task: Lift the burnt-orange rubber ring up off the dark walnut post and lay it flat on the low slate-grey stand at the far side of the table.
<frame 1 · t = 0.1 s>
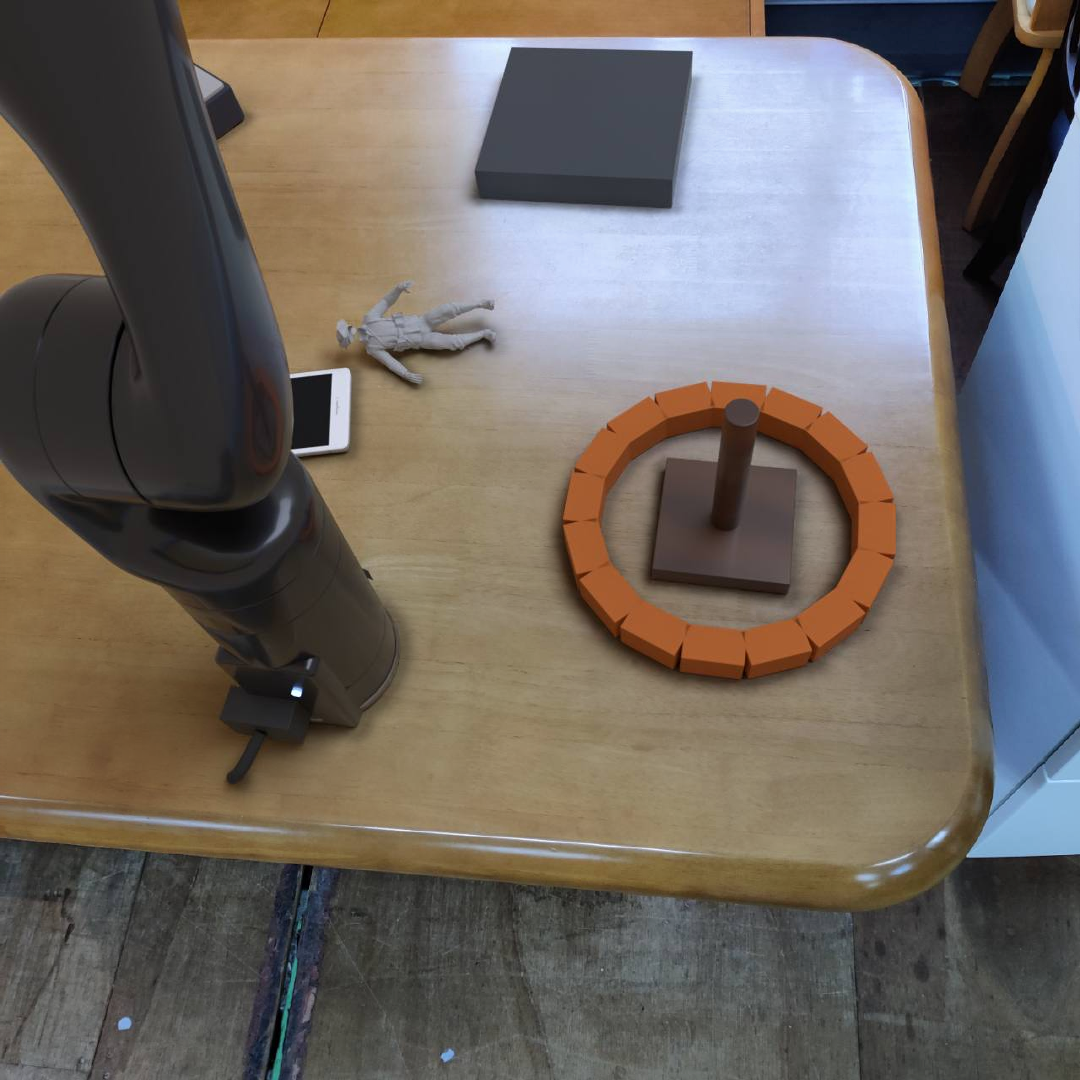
grey and red box: (154, 140, 93), on the table
post: (724, 529, 66), on the table
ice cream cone: (178, 274, 83), on the table
stand: (588, 137, 87), on the table
soldier figure: (424, 347, 77), on the table
cell phone: (250, 424, 74), on the table
ring: (724, 529, 66), on the table
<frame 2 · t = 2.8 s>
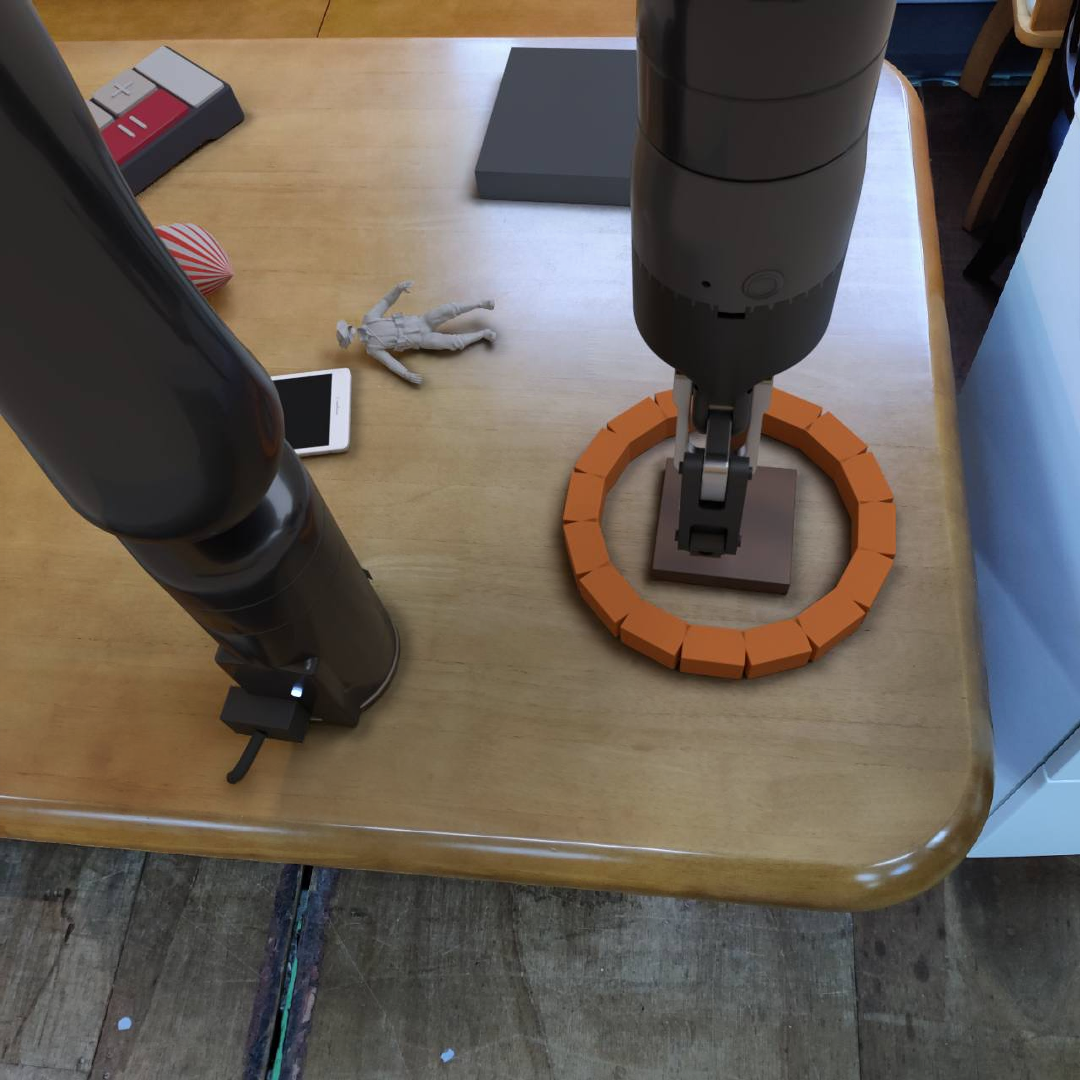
hand: (712, 471, 47), 18 cm above the table, tool pointing down, fingers open, 8 cm apart
nothing on the table moved.
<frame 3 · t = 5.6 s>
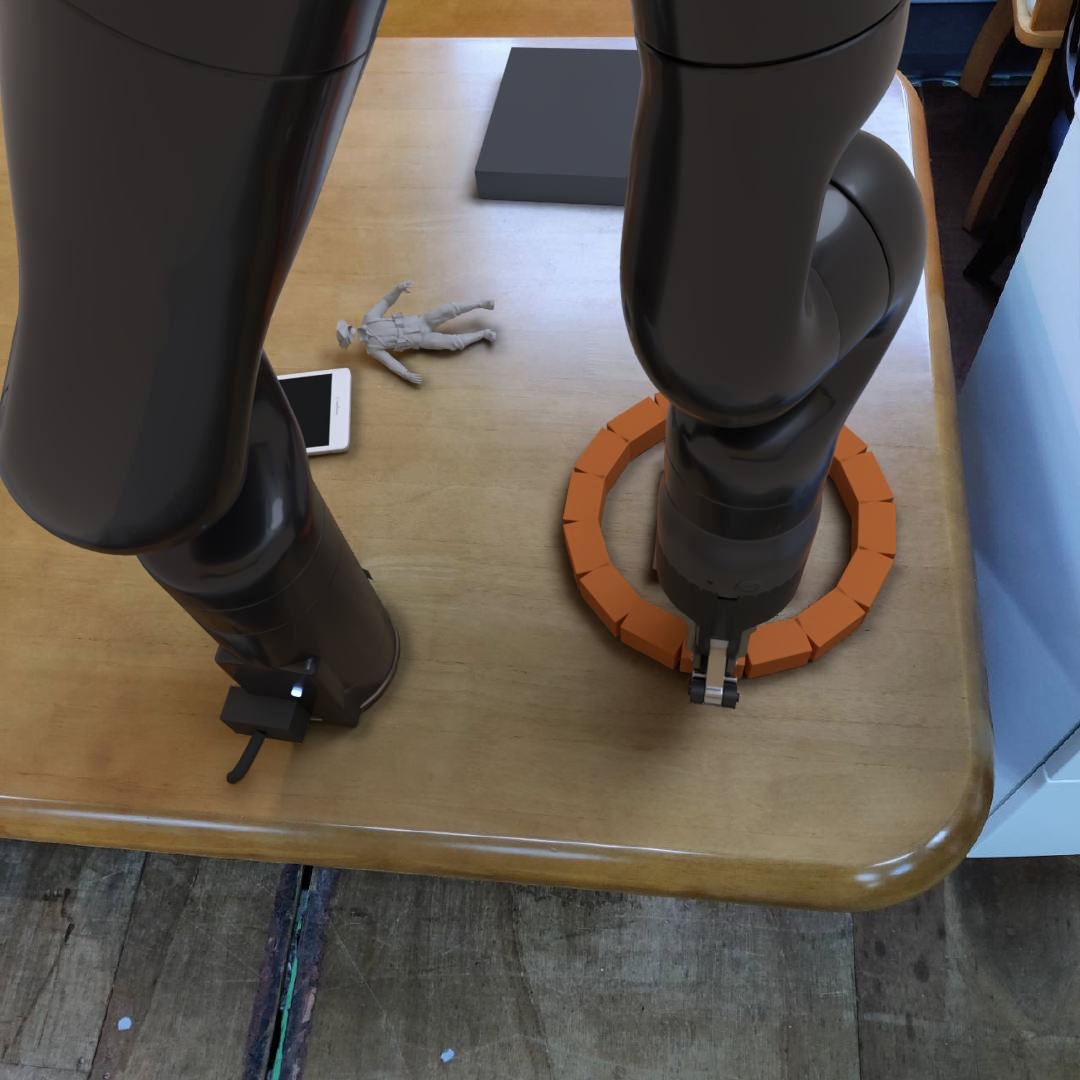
hand: (712, 657, 61), 0 cm above the table, tool pointing down, fingers closed on ring, 2 cm apart
ring: (724, 528, 66), on the table, touching gripper
everything else where it was.
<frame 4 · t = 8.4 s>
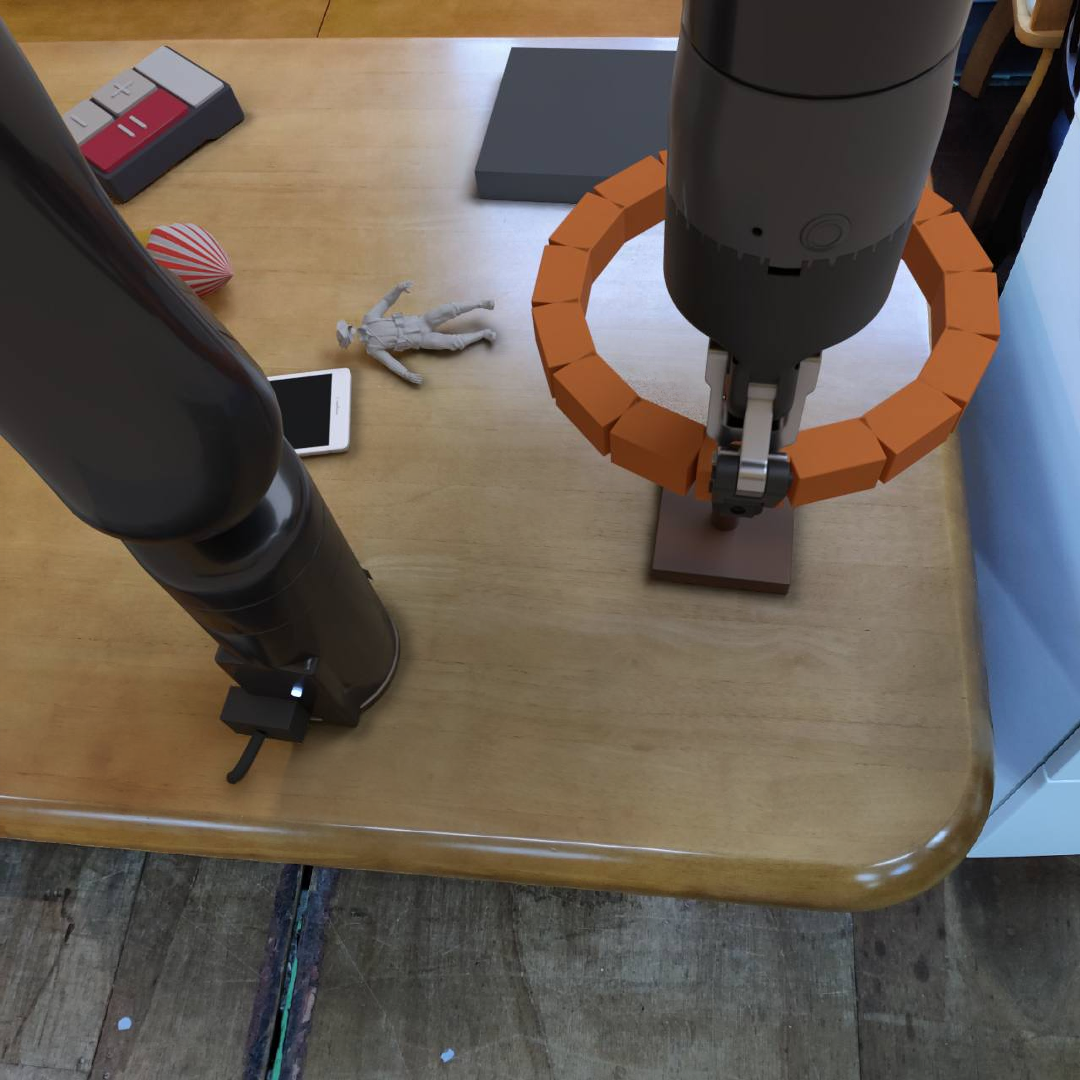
hand: (739, 478, 43), 21 cm above the table, tool pointing down, fingers closed on ring, 2 cm apart
ring: (754, 321, 48), point 21 cm above the table, touching gripper
everything else where it was.
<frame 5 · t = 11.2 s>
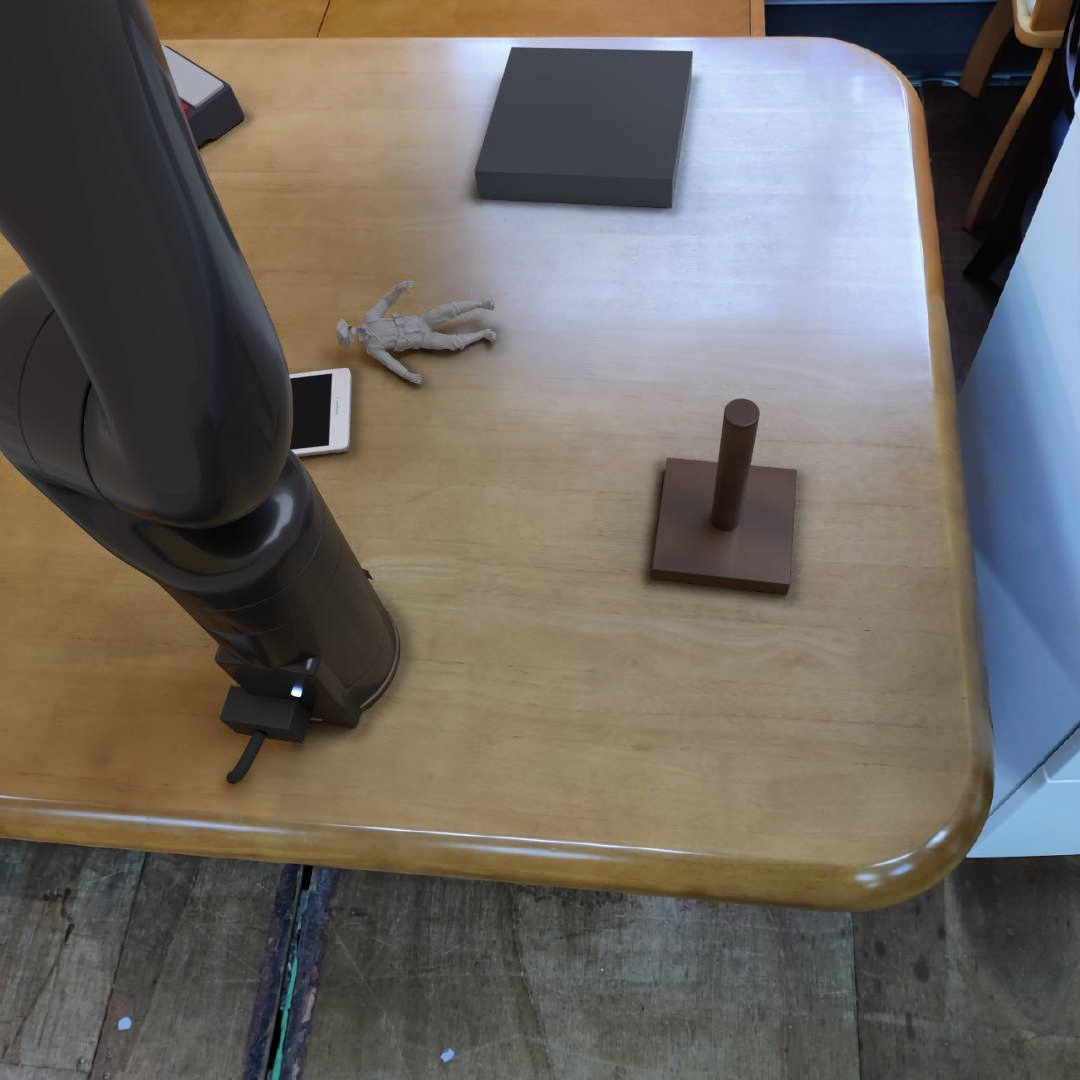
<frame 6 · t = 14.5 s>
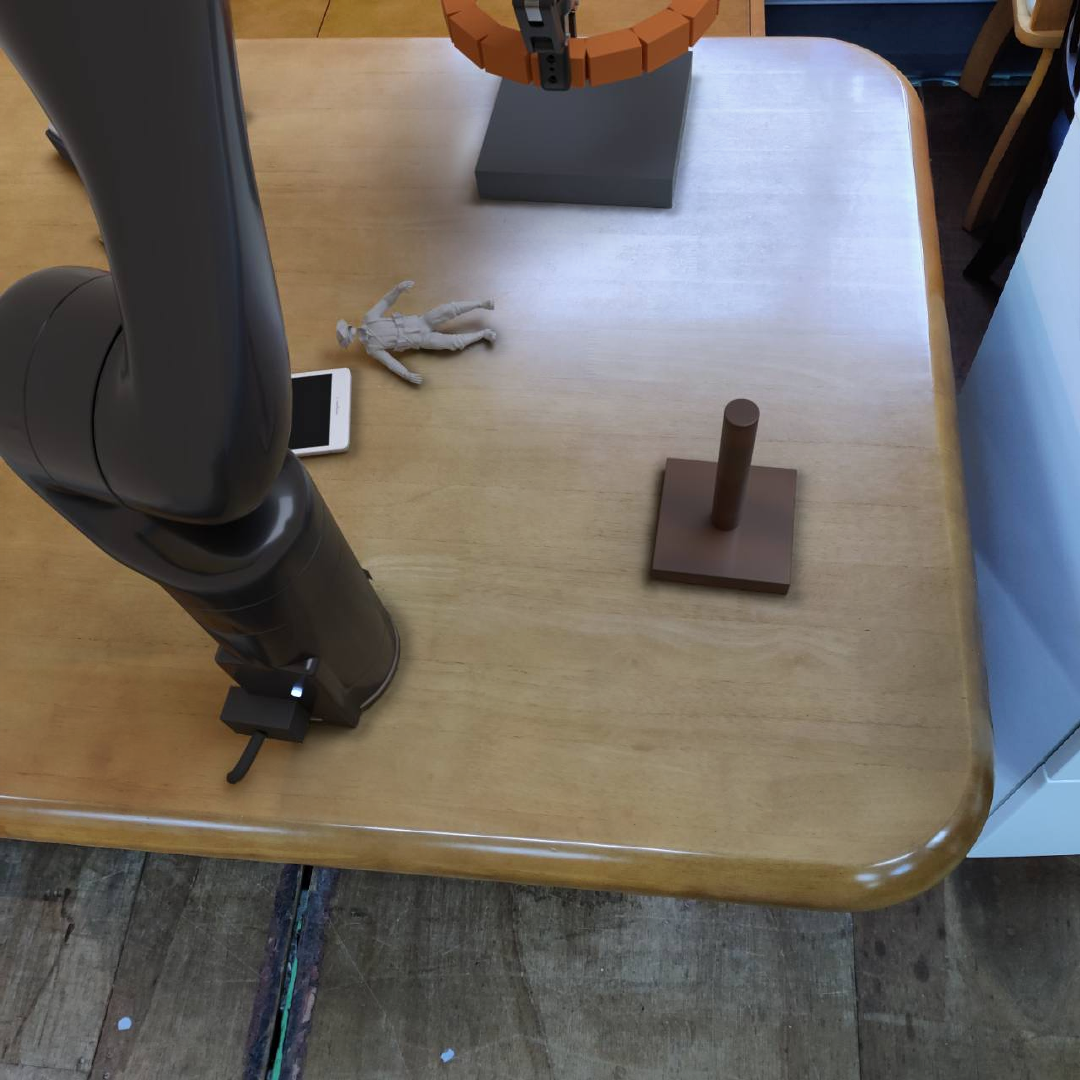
hand: (559, 74, 71), 13 cm above the table, tool pointing down, fingers closed on ring, 2 cm apart
when the fingers open (3 cm above the table, at t = 17.0 s): ring stays where it is, resting on stand.
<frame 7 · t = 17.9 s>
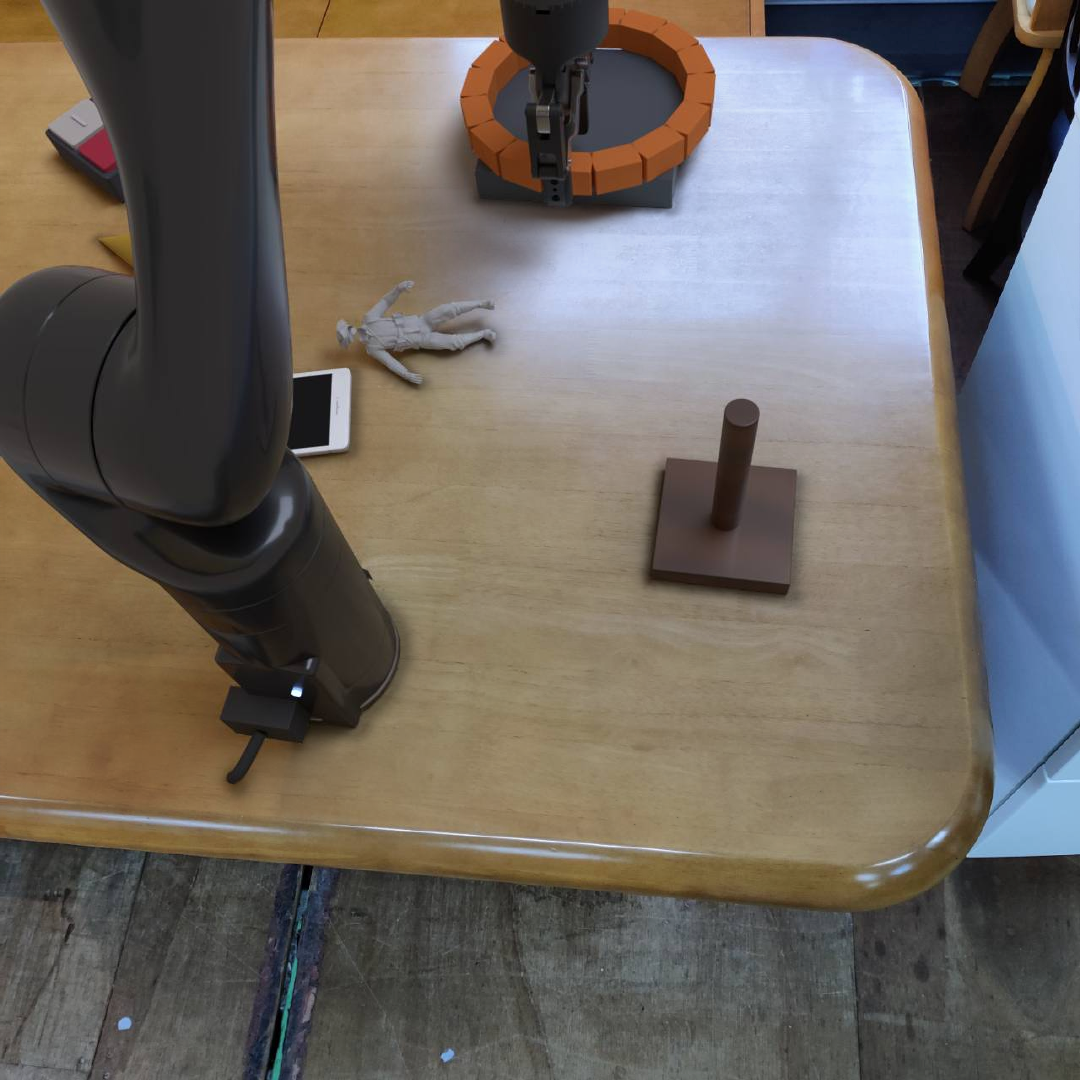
hand: (567, 167, 78), 5 cm above the table, tool pointing down, fingers open, 8 cm apart
ring: (587, 108, 84), point 3 cm above the table, touching stand
everything else where it was.
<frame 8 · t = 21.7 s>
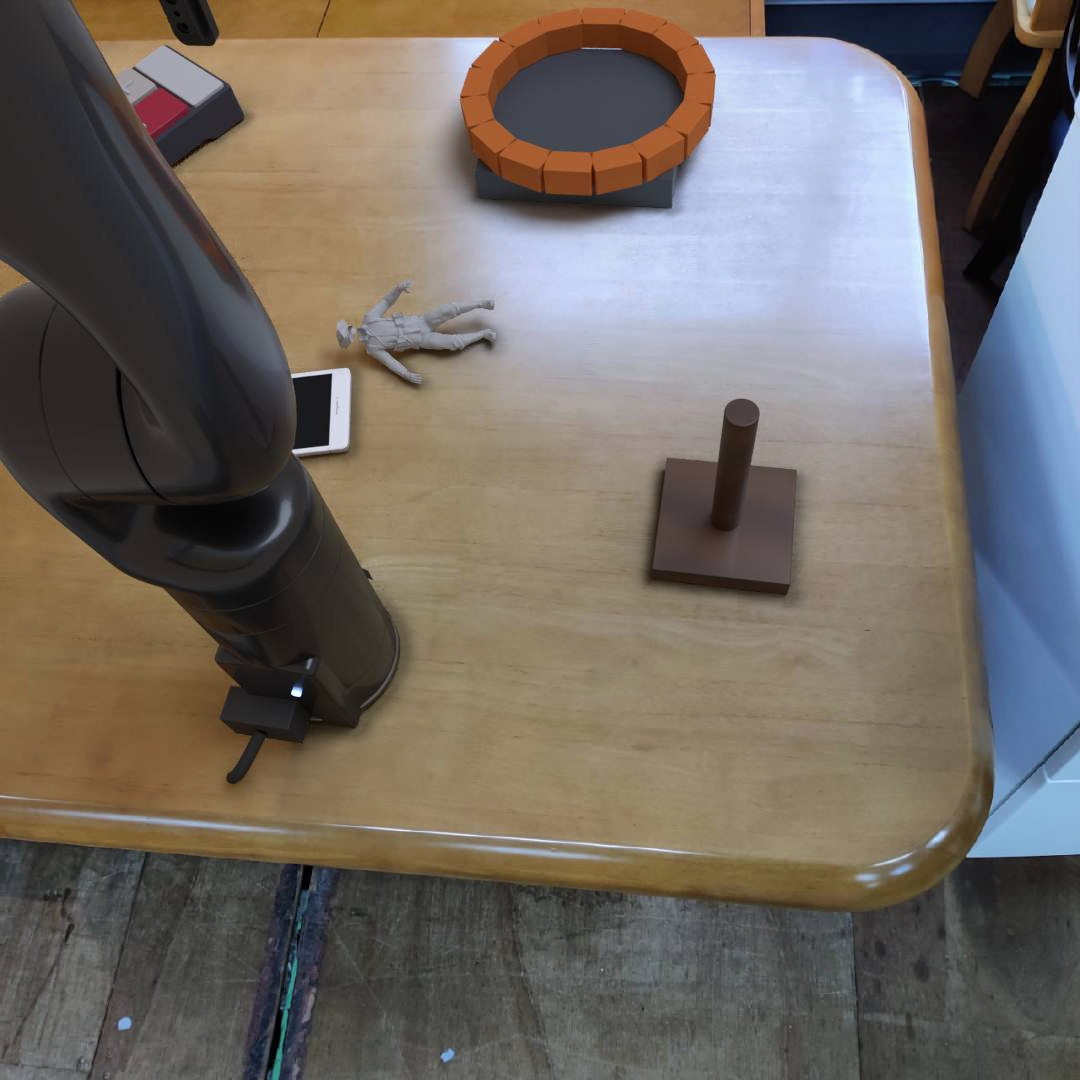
nothing on the table moved.
at the end: ring inside the target area on the stand (0.1 cm from its centre), point 3.0 cm above the stand's base; ring tilted 0°; ring moved 42.5 cm from its start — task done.
